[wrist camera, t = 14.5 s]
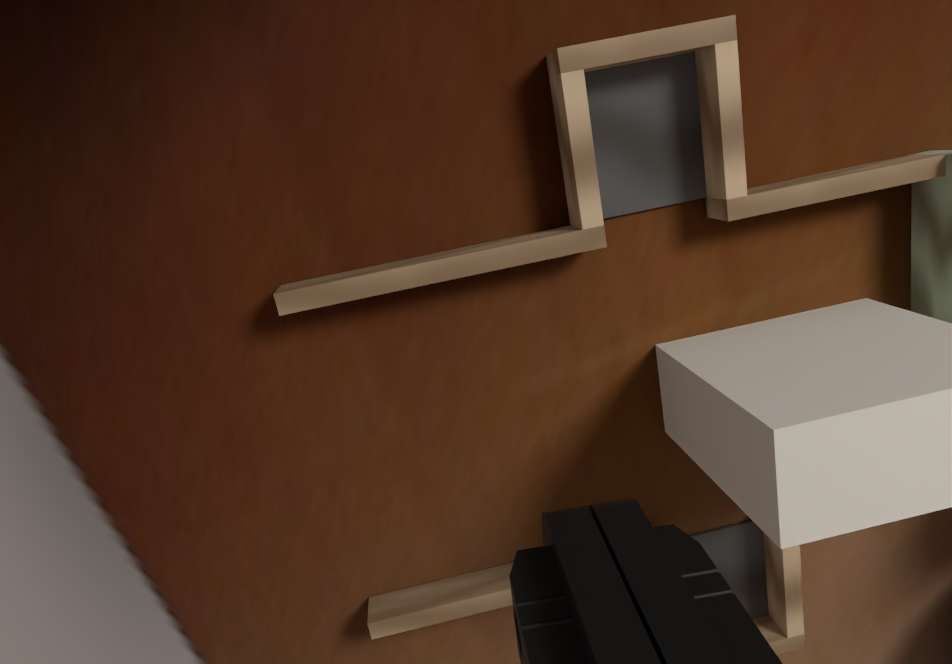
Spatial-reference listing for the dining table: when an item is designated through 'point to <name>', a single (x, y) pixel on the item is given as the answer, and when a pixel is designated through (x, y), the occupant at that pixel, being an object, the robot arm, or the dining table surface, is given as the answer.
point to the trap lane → (637, 189)
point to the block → (818, 416)
